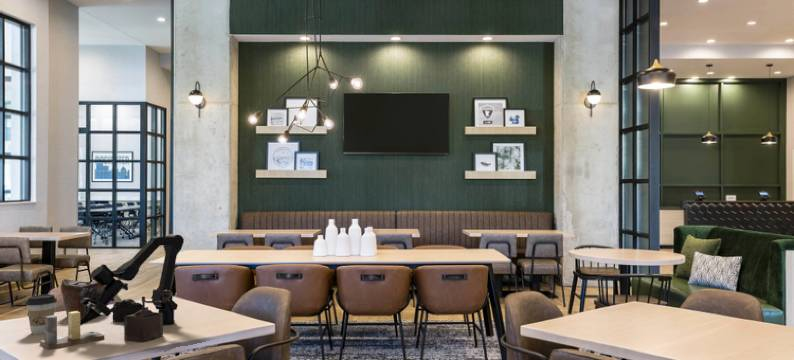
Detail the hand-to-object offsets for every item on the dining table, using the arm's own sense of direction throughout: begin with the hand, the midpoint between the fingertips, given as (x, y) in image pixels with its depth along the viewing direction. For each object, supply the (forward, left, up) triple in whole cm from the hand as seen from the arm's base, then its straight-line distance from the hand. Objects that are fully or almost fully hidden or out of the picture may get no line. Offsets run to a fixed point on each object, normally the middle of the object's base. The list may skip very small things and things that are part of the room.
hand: (79, 324), depth 218 cm
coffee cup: (+19, -23, -7) cm, 31 cm away
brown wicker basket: (+10, -54, -7) cm, 55 cm away
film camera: (-13, -34, -7) cm, 37 cm away
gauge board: (+2, -1, -7) cm, 7 cm away
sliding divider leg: (+2, -1, -5) cm, 5 cm away
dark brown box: (-25, +1, -7) cm, 26 cm away
